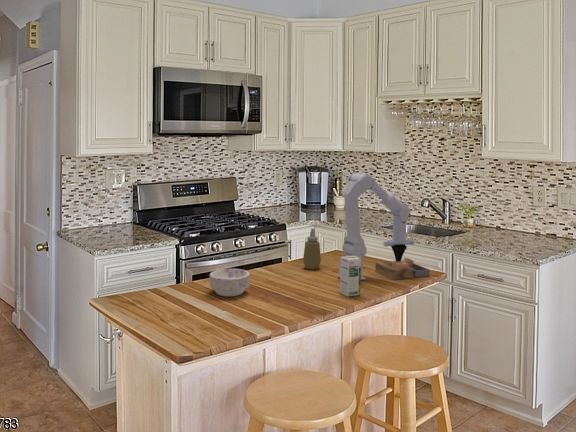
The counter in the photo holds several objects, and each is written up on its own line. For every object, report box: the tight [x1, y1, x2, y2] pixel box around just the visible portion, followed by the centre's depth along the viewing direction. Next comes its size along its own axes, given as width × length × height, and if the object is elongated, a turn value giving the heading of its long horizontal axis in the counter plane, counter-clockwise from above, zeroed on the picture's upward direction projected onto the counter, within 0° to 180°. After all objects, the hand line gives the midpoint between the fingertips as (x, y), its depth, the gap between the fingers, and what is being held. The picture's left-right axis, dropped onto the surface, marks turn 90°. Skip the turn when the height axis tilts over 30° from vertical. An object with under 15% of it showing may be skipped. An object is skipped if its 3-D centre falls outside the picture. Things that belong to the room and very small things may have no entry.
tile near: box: [392, 260, 409, 269], centre depth 246 cm, size 5×5×2 cm
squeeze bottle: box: [302, 228, 322, 271], centre depth 256 cm, size 8×8×18 cm
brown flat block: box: [375, 260, 415, 281], centre depth 248 cm, size 10×15×4 cm, turn 21°
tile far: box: [402, 257, 415, 267], centre depth 254 cm, size 5×5×2 cm
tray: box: [411, 262, 430, 279], centre depth 252 cm, size 7×15×3 cm, turn 21°
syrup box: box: [339, 256, 362, 298], centre depth 218 cm, size 6×6×14 cm
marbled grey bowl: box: [209, 268, 251, 297], centre depth 218 cm, size 15×15×8 cm
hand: (398, 261), depth 252 cm, fingers closed
